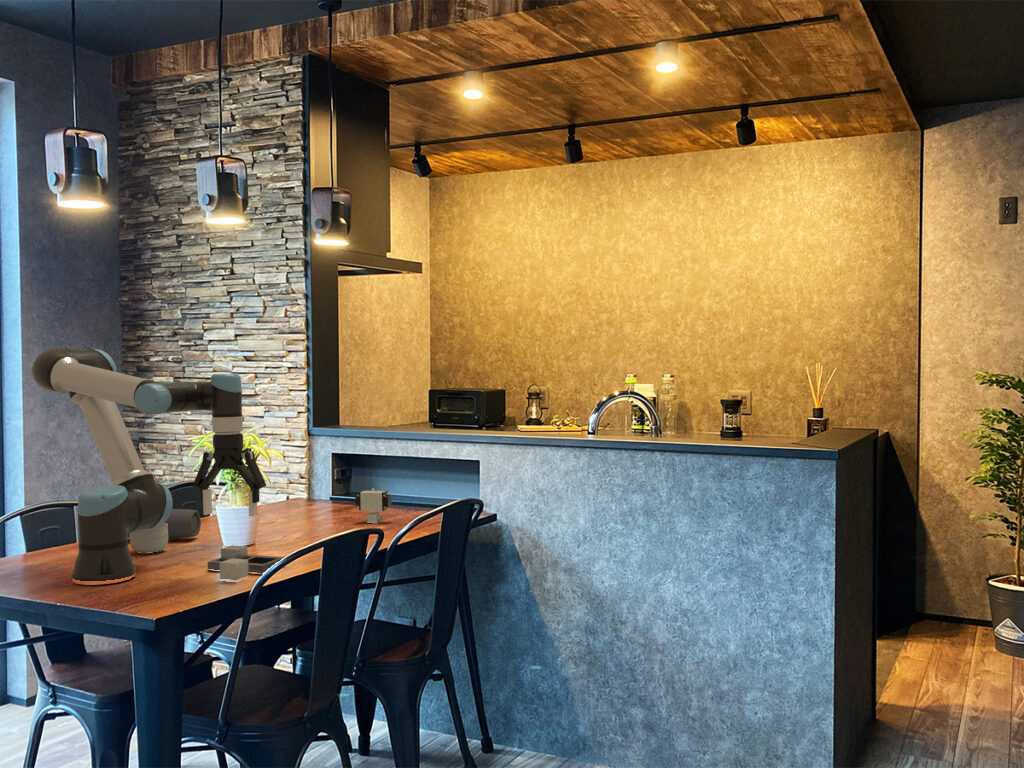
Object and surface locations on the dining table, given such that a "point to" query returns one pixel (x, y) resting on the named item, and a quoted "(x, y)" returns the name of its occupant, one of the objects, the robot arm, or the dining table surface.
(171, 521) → the bluetooth speaker
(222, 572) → the beige cube
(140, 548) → the teacup
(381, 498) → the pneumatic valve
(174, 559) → the dining table surface
